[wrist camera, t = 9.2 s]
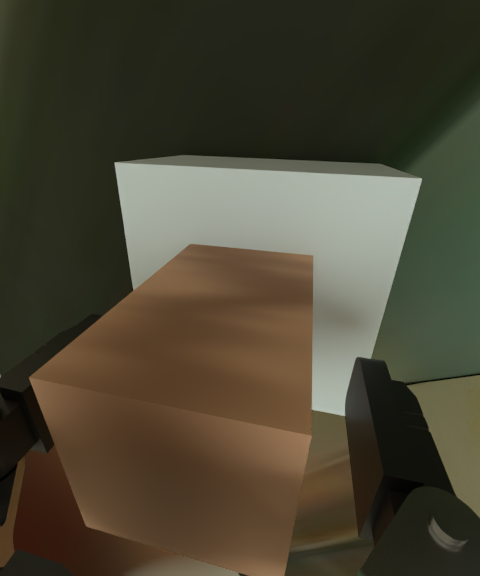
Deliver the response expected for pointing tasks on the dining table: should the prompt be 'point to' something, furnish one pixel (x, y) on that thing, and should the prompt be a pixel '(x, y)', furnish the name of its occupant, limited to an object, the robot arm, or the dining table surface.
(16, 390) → the robot arm
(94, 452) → the terracotta block
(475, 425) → the tall beige block
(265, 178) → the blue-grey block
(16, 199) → the dining table surface
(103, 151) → the dining table surface
